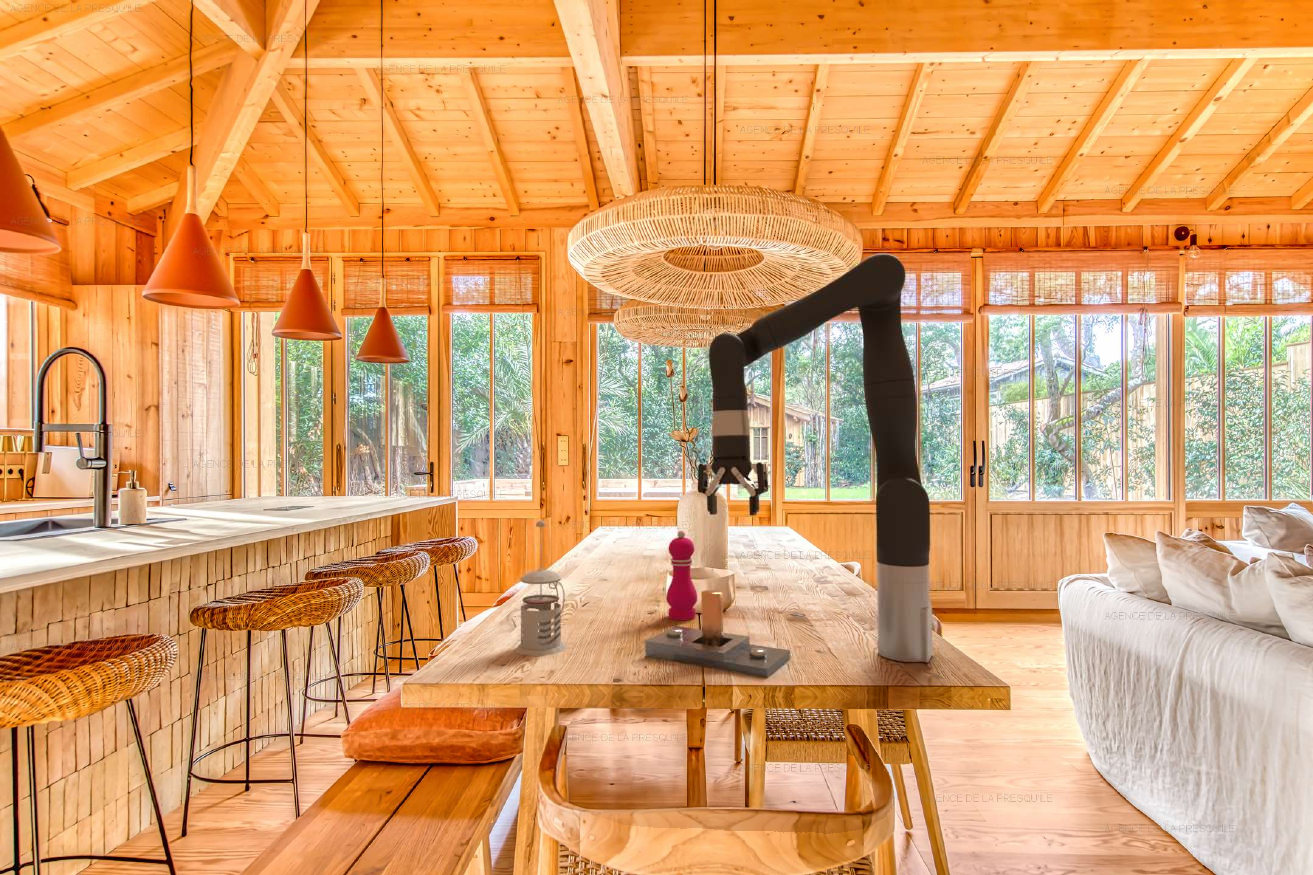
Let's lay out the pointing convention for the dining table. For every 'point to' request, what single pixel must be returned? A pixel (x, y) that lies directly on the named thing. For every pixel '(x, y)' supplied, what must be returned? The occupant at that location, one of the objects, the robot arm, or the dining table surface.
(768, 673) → the lower link
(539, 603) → the french press
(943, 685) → the dining table surface
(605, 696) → the dining table surface
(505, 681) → the dining table surface
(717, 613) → the copper pin
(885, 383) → the robot arm
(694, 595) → the pepper mill
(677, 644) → the upper link
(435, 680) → the dining table surface
